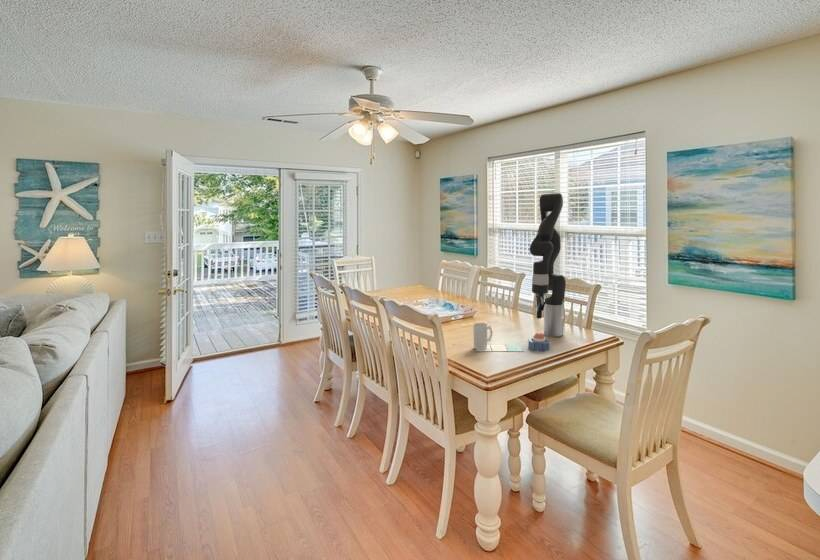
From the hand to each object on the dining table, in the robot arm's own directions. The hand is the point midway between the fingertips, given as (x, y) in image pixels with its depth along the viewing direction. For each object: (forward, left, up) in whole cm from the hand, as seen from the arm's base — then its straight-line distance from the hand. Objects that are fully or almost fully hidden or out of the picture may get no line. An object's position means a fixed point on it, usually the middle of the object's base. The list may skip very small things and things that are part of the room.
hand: (539, 318), depth 206 cm
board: (+17, -10, -15) cm, 25 cm away
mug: (+23, -13, -15) cm, 31 cm away
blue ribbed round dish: (0, 0, -15) cm, 15 cm away
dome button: (0, 0, -12) cm, 12 cm away
